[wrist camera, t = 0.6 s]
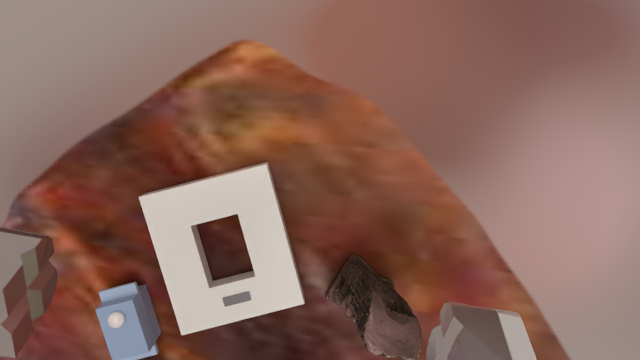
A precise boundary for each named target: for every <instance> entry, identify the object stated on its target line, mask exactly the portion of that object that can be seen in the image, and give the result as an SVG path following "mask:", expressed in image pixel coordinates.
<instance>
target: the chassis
mask: <svg viewBox="0 0 640 360" xmlns="http://www.w3.org/2000/svg"><path fill="white" fill-rule="evenodd" d="M139 200H140V203H141V206H142V210H143V213H144V216H145V219H146V222H147V226H148V229H149V232H150V235H151V239H152V242H153V245H154V248H155V251H156V255H157V258H158V261H159V264H160V267H161V271H162V274H163V277H164V280H165V284H166V287H167V290H168V293H169V296H170V300H171V303H172V306H173V309H174V313H175V316H176V319H177V322H178V325H179V329H180V332H181V335H186V334H189V333H193V332H197V331H201V330H205V329H209V328H213V327H217V326H220V325H224V324H228V323H232V322H236V321H240V320H244V319H248V318H251V317H255V316H259V315H263V314H267V313H271V312H275V311H279V310H282V309H286V308H290V307H294V306H298V305H302V304H305V299H304V292H303V289H302V285H301V281H300V278H299V274H298V270H297V267H296V263H295V259H294V256H293V252H292V248H291V244H290V241H289V237H288V233H287V230H286V226H285V222H284V219H283V215H282V211H281V208H280V204H279V200H278V197H277V193H276V189H275V186H274V182H273V178H272V175H271V171H270V167H269V163H268V162H264V163H260V164H257V165H253V166H249V167H245V168H241V169H237V170H233V171H230V172H226V173H222V174H218V175H214V176H210V177H206V178H202V179H199V180H195V181H191V182H187V183H183V184H179V185H175V186H171V187H168V188H164V189H160V190H156V191H152V192H148V193H145V194H143V195H141V196H140V197H139ZM235 214H238V217H239V221H240V224H241V228H242V231H243V235H244V238H245V242H246V245H247V249H248V252H249V256H250V259H251V263H252V267H253V270H254V271H250V272H246V273H242V274H238V275H234V276H230V277H226V278H223V279H219V280H215V281H213V280H212V276H211V273H210V270H209V266H208V263H207V259H206V256H205V253H204V249H203V246H202V243H201V239H200V236H199V232H198V229H197V226H196V224H200V223H204V222H208V221H212V220H216V219H220V218H223V217H227V216H231V215H235Z"/></svg>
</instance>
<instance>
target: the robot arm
mask: <svg viewBox="0 0 640 360" xmlns="http://www.w3.org/2000/svg"><path fill="white" fill-rule="evenodd" d="M53 253H54V247H53V241H52V239H51V238H50V237H48V236H44V235H39V234H34V233H28V232H23V231H18V230H13V229H7V228H2V227H0V356H5V357H13V358H16V356H17V355H18V353H19V352H20V350H21V349H22V347H23V346H24V344H25V343H26V341H27V340H28V338H29V336H30V335H31V333H32V332H33V327H32V320H33V319H35V318H37V317H39V316H41V315H43V314H44V313H45V311H46V310H47V308H48V306H49V305H50V303H51V301H52V298H53V295H54V292H55V289H56V282H57V272H56V268H55V267H54V265H53V264H52V263H51V262H50V261H49V259H50V257H51V256H52V254H53ZM439 317H440V322H441V325H439V326H437V327H436V328H434V329H433V330H432V333H431V335H430V338H429V341H428V347H427V360H537V359H536V356H535V354H534V351H533V348H532V346H531V343H530V340H529V338H528V335H527V332H526V330H525V327H524V324H523V322H522V319H521V316H520V315H519V314H518V313H517V312H512V311H505V310H498V309H490V308H484V307H477V306H471V305H464V304H458V303H452V302H446V303H445V304H444V305H443V307H442V309H441V311H440V314H439Z"/></svg>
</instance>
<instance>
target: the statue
mask: <svg viewBox="0 0 640 360" xmlns="http://www.w3.org/2000/svg"><path fill="white" fill-rule="evenodd" d="M393 286H394V284H393V282H392V281H391V280H389V279H387V278H386V277H382V276H380V275H378V274H376V273H374V272H373V270H372V269H371V267H370V266H369V265H368V264H367V263H366V262H365V261H364V260H363V258H360V257H358V256H356V255H354V254H351V256H350V257H349V259H348V260H347V262H346V263H345V264H344V265H343V267H342V268H341V270H340V272H339V273H338V275H337V277H336V279H335V281H334V282H333V284H332V285H331V287H330V288H329V290H328V292H327V294H326V298H327V299H328V300H330V301H332V302H334V303H336V304H338V305H340V306H342V309H343V310H344V311H345V313H347V316H348V317H349V318H351V319H352V321H353V322H354V323H355V324H356V325H357V327H358V333H359V334H360V336H361V338H362V340H363V342H364V343H365V348H366V349H367V351H369V352H371V353H373V354H374V355H383V356H384V357H385V358H396V357H397V356H398V357H400V358H401V359H403V360H415V359H417V358H418V357H419V356H420V355H421V347H422V340H423V338H422V336H421V334H422V331H421V328H420V325H419V321H418V319H417V317H416V316H414V314H413V312H412V310H411V309H410V306H409V305H408V303H407V302H406V301H405V300H404V299H403V298H402V297H401V296H400V295H399V294H398V293H397V292H396V291H395V290H394V287H393Z"/></svg>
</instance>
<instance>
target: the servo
mask: <svg viewBox="0 0 640 360" xmlns="http://www.w3.org/2000/svg"><path fill="white" fill-rule="evenodd" d="M99 295H100V298H101V301H102V303H101V304H100V305H99V306H98V307H97V308H96V309H95V310H96V313H97V316H98V319H99V322H100V325H101V328H102V331H103V334H104V337H105V340H106V343H107V346H108V349H109V352H110V355H111V358H112V360H137V359H141V358H145V357H149V356H152V355H156V354H158V352H159V351H158V348H157V345H156V340H157V339H158V337H159V335H160V334H161V330H160V327H159V324H158V321H157V318H156V314H155V311H154V308H153V305H152V302H151V299H150V295H149V292H148V289H147V286H146V284H144V285H140V286H138V285H137V282H136V281H135V282H131V283H127V284H123V285H120V286H116V287H112V288H108V289H104V290H100V291H99Z"/></svg>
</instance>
